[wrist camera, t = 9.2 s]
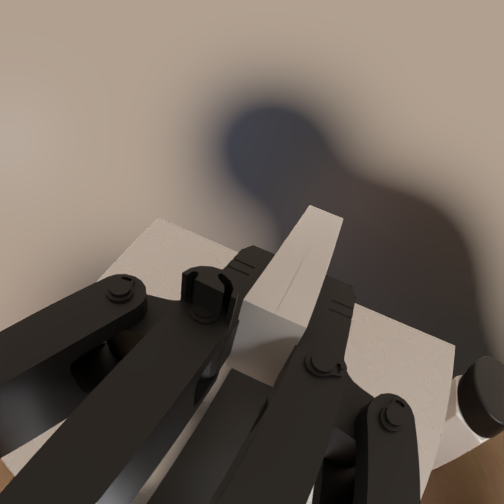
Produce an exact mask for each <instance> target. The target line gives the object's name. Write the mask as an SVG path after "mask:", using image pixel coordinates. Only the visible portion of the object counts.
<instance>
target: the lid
mask: <svg viewBox="0 0 504 504" xmlns="http://www.w3.org/2000/svg"><path fill="white" fill-rule="evenodd" d="M238 253H239V252H236V251H234V250H232V249H229V248H227V247H225V246H223V245H220V244H218V243H216V242H214V241H211V240H209V239H207V238H205V237H202V236H200V235H198V234H196V233H193V232H191V231H189V230H187V229H184V228H182V227H180V226H177V225H175V224H173V223H171V222H168V221H166V220H164V219H162V218H159V217H158V218H157V219H156V220H155V221H154V222H153V223H152V224H151V225H150V226H149V227H148V228H147V229H146V230H145V231H144V232H143V233H142V234H141V235H140V236H139V237H138V238H137V239H136V240H135V241H134V242H133V243H132V244H131V245H130V246H129V247H128V248H127V249H126V251H124V253H122V255H121V256H120V257H119V258H118V259H117V260H116V261H115V262H114V263H113V264H112V265H111V266H110V267H109V269H108V270H107V271H106V272H105V273H104V274H103V275H102V276H101V277H100V279H99V280H98V281H100V280H102V279H104V278H106V277H109V276H112V275H115V274H128V275H132V276H135V277H137V278H138V279H140V280H141V281H142V282H143V283H144V285H145V286H146V294H148V295H152V296H156V297H160V298H164V299H169V300H180V299H181V282H182V272H184V271H186V270H188V269H189V268H192V267H197V266H213V267H216V268H219V269H222V270H223V269H224V267H225V266H227V264H228V263H229V262H230V261H231V260H233V258H234V257H235V256H236V255H237V254H238ZM98 281H97V282H98ZM351 320H352V321H351V327H350V332H349V337H348V342H347V346H346V351H345V357H344V361H345V363H346V365H347V372H348V374H349V376H350V377H351V379H352V380H353V381H354V382H355V383H356V384H357V385H358V386H359V387H361V388H362V389H363V390H365V391H366V392H367V393H369V394H370V395H372V396H373V397H374V398H375V397H377V396H378V395H380V394H384V393H392V394H395V395H398V396H400V397H401V398H403V399H404V400H405V401H406V402H407V403H408V404H409V406H410V407H411V409H412V412H413V415H414V418H415V425H416V434H417V443H418V454H419V469H420V500H421V498H422V495H423V493H424V490H425V487H426V485H427V482H428V479H429V476H430V473H431V470H432V467H433V464H434V461H435V457H436V454H437V451H438V447H439V443H440V439H441V435H442V431H443V427H444V422H445V417H446V412H447V407H448V402H449V396H450V389H451V382H452V373H453V364H454V353H455V346H454V345H452V344H449V343H447V342H445V341H442V340H440V339H438V338H436V337H433V336H431V335H428V334H426V333H424V332H421V331H419V330H417V329H414V328H412V327H409V326H407V325H405V324H403V323H400V322H398V321H396V320H393V319H391V318H389V317H386V316H384V315H381V314H379V313H377V312H375V311H372V310H370V309H367V308H365V307H363V306H360V305H358V304H356V303H355V305H354V309H353V316H352V319H351ZM226 362H227V360H226V361H225V363H224V364H223V366H222V367H221V369H220V371H219V375H218V378H217V380H216V382H215V383H214V385H213V386H212V388H211V389H210V391H209V392H208V394H207V395H206V397H205V399H204V400H203V402H202V403H201V405H200V406H199V408H198V409H197V410H196V412H195V413H194V415H193V416H192V418H191V419H190V421H189V422H188V424H187V425H186V427H185V428H184V430H183V431H182V433H181V434H180V435H179V437H178V438H177V440H176V441H175V443H174V444H173V445H172V447H171V448H170V450H169V451H168V453H167V454H166V455H165V457H164V458H163V460H162V461H161V462H160V464H159V465H158V467H157V468H156V469H155V471H154V472H153V473H152V475H151V476H150V478H149V479H148V480H147V482H146V483H145V484H144V486H143V487H142V488H141V490H140V491H139V492H138V494H137V495H136V496H135V498H134V499H133V500H132V502H131V503H130V504H208V503H209V501H210V499H211V498H212V496H213V495H214V493H215V491H216V490H217V488H218V486H219V485H220V483H221V481H222V480H223V478H224V476H225V475H226V473H227V471H228V469H229V468H230V466H231V464H232V462H233V461H234V459H235V457H236V455H237V453H238V452H239V450H240V448H241V446H242V444H243V442H244V441H245V439H246V437H247V435H248V433H249V431H250V429H251V427H252V425H253V424H254V422H255V420H256V418H257V416H258V414H259V413H258V411H259V410H260V408H261V407H262V405H263V404H264V402H265V400H266V399H267V397H268V396H269V394H270V392H271V390H272V386H269V385H267V384H265V383H263V382H260V381H258V380H256V379H254V378H252V377H250V376H248V375H245V374H243V373H241V372H239V371H237V370H235V369H233V368H231V367H229V366H227V365H226ZM65 420H66V419H65ZM65 420H64V421H65ZM64 421H62V422H60V423H59V424H57V425H56V426H54V427H52V428H51V429H49V430H48V431H46V432H44V433H43V434H41V435H39V436H38V437H36V438H34V439H33V440H31V441H29V442H28V443H26V444H24V445H23V446H21V447H19V448H18V449H16V450H14V451H12V452H11V453H9V454H7V455H5V456H4V457H2V458H1V459H2V461H3V462H4V463H5V465H6V466H7V467H8V468H9V470H10V471H11V472H12V473H13V475H14V476H16V475H17V474H18V472H19V471H20V470H21V469H22V468H23V467H24V466H25V465H26V463H27V462H28V461H29V460H30V459H31V458H32V457H33V455H34V454H35V453H36V452H37V451H38V450H39V449H40V448H41V447H42V445H43V444H44V443H45V442H46V441H47V440H48V439H49V438H50V437H51V435H52V434H53V433H54V432H55V431H56V430H57V429H58V428H59V427H60V426H61V424H62V423H63V422H64ZM313 489H314V486H313V488H312V491H311V493H310V496H309V498H308V501H307V503H306V504H312V497H313Z"/></svg>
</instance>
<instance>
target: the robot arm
mask: <svg viewBox="0 0 504 504" xmlns="http://www.w3.org/2000/svg"><path fill="white" fill-rule="evenodd" d="M342 221H343V218H340V217H338V216H336V215H333V214H330V213H328V212H326V211H323V210H321V209H318V208H316V207H313V206H309V207H308V208H307V210H306V211H305V213H304V214H303V216H302V217H301V219H300V220H299V221H298V223H297V224H296V226H295V227H294V229H293V230H292V232H291V233H290V235H289V236H288V237H287V239H286V240H285V242H284V243H283V244H282V246H281V247H280V249H279V250H278V252H277V253H276V254H272V253H270V252H268V251H265V250H263V249H261V248H258V247H256V246H250V247H247V248H245V249H242V250H241V251H240V252H239V253H238V254H237V255H236V256H235V257H234V258H233V260H231V261H230V262H229V263H228V264H227V266H225V267H224V269H223V270H222V269H219V268H216V267H213V266H197V267H192V268H189V269H188V270H186V271H184V272H182V282H181V299H180V300H169V299H164V298H160V297H156V296H152V295H148V294H146V286H145V285H144V283H143V282H142V281H141V280H140V279H138V278H137V277H135V276H132V275H128V274H115V275H112V276H109V277H106V278H104V279H102V280H100V281H98V282H96V283H94V284H92V285H90V286H88V287H86V288H84V289H82V290H80V291H78V292H75V293H74V294H72V295H69V296H68V297H65V298H63V299H62V300H60V301H58V302H56V303H54V304H52V305H50V306H48V307H46V308H44V309H42V310H40V311H38V312H36V313H34V314H32V315H31V316H29V317H27V318H25V319H23V320H22V321H20V322H18V323H16V324H14V325H12V326H10V327H8V328H6V329H5V330H3V331H1V332H0V458H2V457H4V456H5V455H7V454H9V453H11V452H12V451H14V450H16V449H18V448H19V447H21V446H23V445H24V444H26V443H28V442H29V441H31V440H33V439H34V438H36V437H38V436H39V435H41V434H43V433H44V432H46V431H48V430H49V429H51V428H52V427H54V426H56V425H57V424H59V423H60V422H62V421H64V420H65V419H66V420H65V421H64V422H63V423H62V424H61V426H60V427H59V428H58V429H57V430H56V431H55V432H54V433H53V434H52V435H51V437H50V438H49V439H48V440H47V441H46V442H45V443H44V444H43V445H42V447H41V448H40V449H39V450H38V451H37V452H36V453H35V454H34V455H33V457H32V458H31V459H30V460H29V461H28V462H27V463H26V465H25V466H24V467H23V468H22V469H21V470H20V471H19V472H18V474H17V475H16V476H15V477H14V478H13V479H12V481H11V482H10V483H9V484H8V485H7V486H6V487H5V489H4V490H3V491H2V492H1V493H0V504H130V503H131V502H132V500H133V499H134V498H135V496H136V495H137V494H138V492H139V491H140V490H141V488H142V487H143V486H144V484H145V483H146V482H147V480H148V479H149V478H150V476H151V475H152V473H153V472H154V471H155V469H156V468H157V467H158V465H159V464H160V462H161V461H162V460H163V458H164V457H165V455H166V454H167V453H168V451H169V450H170V448H171V447H172V445H173V444H174V443H175V441H176V440H177V438H178V437H179V435H180V434H181V433H182V431H183V430H184V428H185V427H186V425H187V424H188V422H189V421H190V419H191V418H192V416H193V415H194V413H195V412H196V410H197V409H198V408H199V406H200V405H201V403H202V402H203V400H204V399H205V397H206V395H207V394H208V392H209V391H210V389H211V388H212V386H213V385H214V383H215V382H216V380H217V378H218V375H219V371H220V369H221V367H222V366H223V364H224V363H225V361H226V360H227V362H226V365H227V366H229V367H231V368H233V369H235V370H237V371H239V372H241V373H243V374H245V375H248V376H250V377H252V378H254V379H256V380H258V381H260V382H263V383H265V384H267V385H269V386H272V390H271V392H270V394H269V396H268V397H267V399H266V400H265V402H264V404H263V405H262V407H261V408H260V410H259V411H258V413H259V414H258V416H257V418H256V420H255V422H254V424H253V425H252V427H251V429H250V431H249V433H248V435H247V437H246V439H245V441H244V442H243V444H242V446H241V448H240V450H239V452H238V453H237V455H236V457H235V459H234V461H233V462H232V464H231V466H230V468H229V469H228V471H227V473H226V475H225V476H224V478H223V480H222V481H221V483H220V485H219V486H218V488H217V490H216V491H215V493H214V495H213V496H212V498H211V499H210V501H209V503H208V504H306V503H307V501H308V498H309V496H310V493H311V491H312V488H313V486H314V489H313V497H312V504H420V469H419V454H418V443H417V434H416V425H415V418H414V415H413V412H412V409H411V407H410V406H409V404H408V403H407V402H406V401H405V400H404V399H403V398H401V397H400V396H398V395H395V394H392V393H384V394H380V395H378V396H377V397H375V398H374V397H373V396H372V395H370V394H369V393H367V392H366V391H365V390H363V389H362V388H361V387H359V386H358V385H357V384H356V383H355V382H354V381H353V380H352V379H351V377H350V376H349V374H348V372H347V365H346V363H345V361H344V357H345V351H346V346H347V342H348V337H349V332H350V327H351V321H352V320H351V319H352V316H353V309H354V305H355V299H356V297H355V294H354V292H353V289H352V286H351V285H348V284H346V283H344V282H341V281H339V280H336V279H334V278H332V277H329V276H327V275H326V272H327V269H328V266H329V263H330V260H331V257H332V254H333V251H334V248H335V244H336V241H337V238H338V235H339V231H340V228H341V225H342Z"/></svg>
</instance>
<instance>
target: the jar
mask: <svg viewBox="0 0 504 504" xmlns="http://www.w3.org/2000/svg"><path fill="white" fill-rule="evenodd" d="M502 431H504V365H503V364H502V363H501V362H500V361H498V360H497V359H495V358H493V357H488V356H484V357H481V358H480V359H478V360H477V361H476V362H475V363H474V364H472V365H471V366H470V367H469V368H468V369H467V371H466V372H465V373H464V374H463V375H460V376H456V377H455V378H454V379H453V380H452V382H451V389H450V396H449V402H448V407H447V412H446V417H445V422H444V427H443V431H442V435H441V439H440V443H439V447H438V451H437V454H436V457H435V461H434V464H433V467H432V470H435V469H437V468H439V467H441V466H444V465H446V464H448V463H450V462H452V461H454V460H455V459H457V458H459V457H461V456H463V455H465V454H466V453H468V452H470V451H472V450H473V449H475V448H477V447H478V446H480V445H482V444H483V443H485V442H486V441H488V440H489V439H491V438H493V437H495V436H496V435H498V434H499V433H501V432H502ZM432 470H431V471H432Z"/></svg>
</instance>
